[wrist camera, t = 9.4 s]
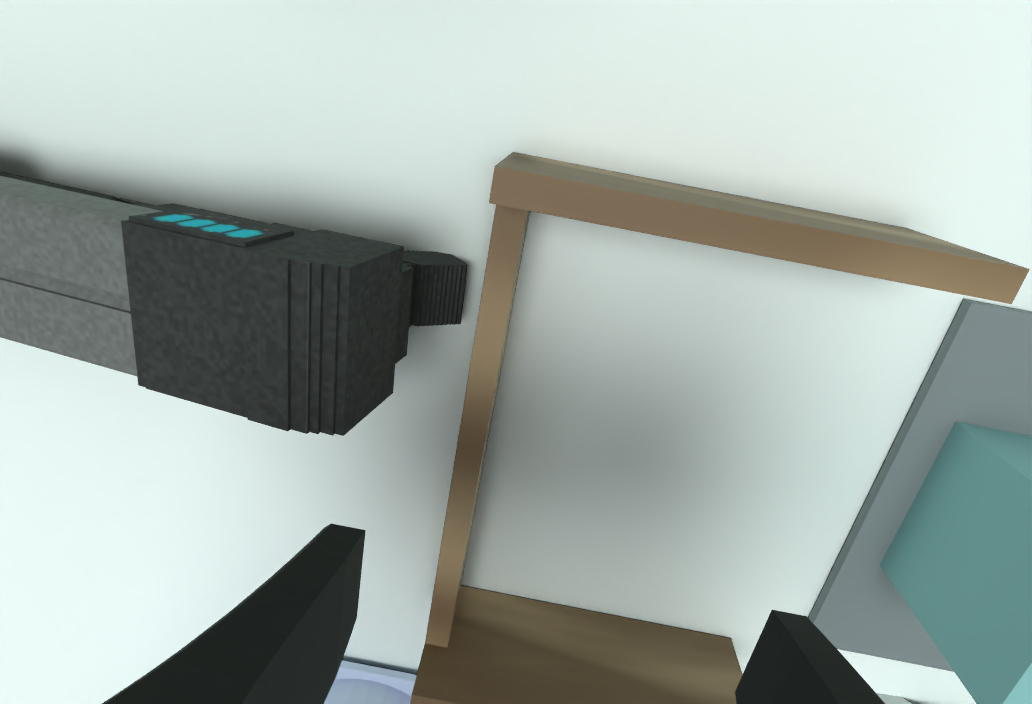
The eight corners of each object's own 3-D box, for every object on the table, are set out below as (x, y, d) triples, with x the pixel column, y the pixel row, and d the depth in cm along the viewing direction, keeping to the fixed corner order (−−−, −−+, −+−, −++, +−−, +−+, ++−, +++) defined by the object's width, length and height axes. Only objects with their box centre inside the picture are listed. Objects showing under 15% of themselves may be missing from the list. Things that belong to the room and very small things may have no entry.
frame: (724, 652, 24) (763, 780, 19) (438, 596, 24) (408, 711, 20) (906, 228, 18) (1029, 269, 13) (513, 152, 18) (494, 166, 13)
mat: (975, 668, 23) (981, 677, 23) (800, 633, 23) (804, 642, 23) (1190, 342, 18) (1203, 347, 18) (963, 298, 18) (972, 302, 18)
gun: (477, 356, 20) (232, 516, 11) (80, 231, 26) (-269, 271, 18) (495, 221, 18) (221, 287, 9) (66, 124, 25) (-329, 109, 16)
